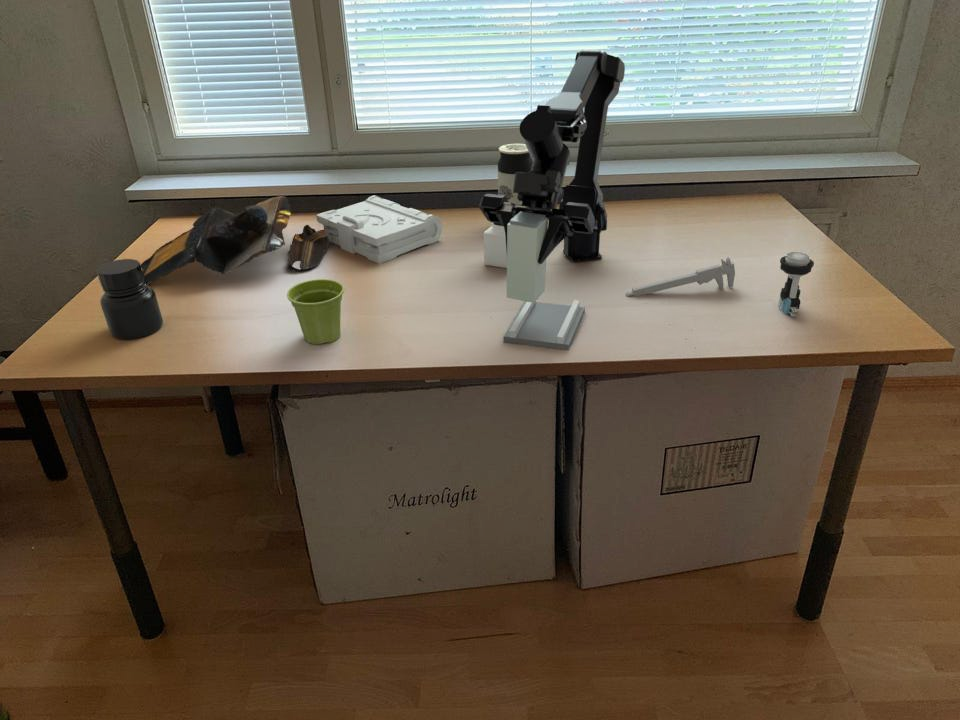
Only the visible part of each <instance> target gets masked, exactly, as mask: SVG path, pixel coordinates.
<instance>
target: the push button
mask: <svg viewBox="0 0 960 720" xmlns="http://www.w3.org/2000/svg"><path fill="white" fill-rule="evenodd" d="M779 263H780V266H779V267H780V270H781V271H783V272H784V273H785V275H787V278H786V282H784V286H783V287H781V290H780V294H779V297H780V298H779V300H778V304H777V308H778V309H782V311H783V313H784V314H785V315H790V316H791V317H797V312H798V310H799V309H800V306H801V300H800V296H801V290H800V285H799V283H800V279H801V278H802V276H806V275H808V274H809V273H811V271H812V268H813V267H814V264H815V262H814V260H812V259H811V258H810V256H809V255H808V254H807V253H804V252H801V251H800V252H799V251H791V252H788V253H786V255H785V256H782V257H781V258H780V259H779Z"/></svg>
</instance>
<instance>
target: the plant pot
mask: <svg viewBox="0 0 960 720" xmlns="http://www.w3.org/2000/svg"><path fill="white" fill-rule="evenodd" d="M344 292H345V287H344V285H343V283H342V282H340V281H337V280H334V279H329V278H320V279H317V278H316V279H310V280H305V281H302V282H299V283H297V284H294V285H293V286H291V287H290V288H289V289H288V290H287V292H286V297H287V300H288V301H289V302H290V303H291V305H292V307H293V308H294V311H295V313H296V317H297V320H298V323H299V326H300V329H301V332H302V335H303V337H304V339H305V341H306V342H307V343H309V344H313V345H322V344H323V343H329V344H330V343H332V342H335V341H336V340H337V339H339V337H340V336H341V315H342V314H341V312H342V311H341V309H342V307H341V305H342V300H343V294H344Z"/></svg>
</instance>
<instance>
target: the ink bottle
mask: <svg viewBox="0 0 960 720" xmlns="http://www.w3.org/2000/svg"><path fill="white" fill-rule="evenodd" d="M140 265H141V262H139V261H138V259H133V258H124V259H122V258H121V259H116V260H112V261H107V262H106V263H104V264H101V265H100V266H98V267H97V268H96V274H97V278H98V280H99V283H100V286H101V288H102V291H103V295H102V296H101V298H100V301H99V302H100V303H99V305H100V306H101V310H102V313H103V316H104V318H105V322H106V324H107V327H108V331H109V334H111V336H112V337H113V338H116V339H118V340H119V339H120V340H132V339H133V340H134V339H138V338H142V337H146V336H148V335H151V334H154V333H156V332H157V331H159V330H160V329H161V328H162V326H163V324H164V319H163V316H162V312H161V309H160V306H159V302H158V299H157V295H156V292H155V291H154V289H153V288H152V287H151V286H150V285H145V284H144V283H145V280H144V276H143V272H142V271H143V269H142V268H141V266H140Z"/></svg>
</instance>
